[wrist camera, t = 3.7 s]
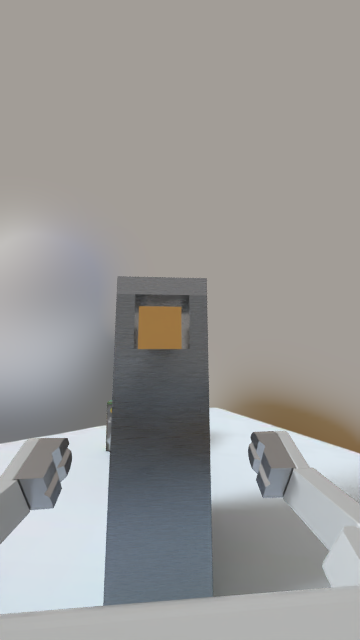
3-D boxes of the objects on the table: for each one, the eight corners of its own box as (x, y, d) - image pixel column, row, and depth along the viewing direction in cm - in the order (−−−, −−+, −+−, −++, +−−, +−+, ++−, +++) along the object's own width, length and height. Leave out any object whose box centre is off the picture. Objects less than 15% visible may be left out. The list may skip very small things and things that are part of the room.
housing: (102, 620, 18) (117, 276, 23) (127, 514, 30) (134, 301, 35) (213, 610, 19) (206, 278, 24) (194, 510, 31) (192, 302, 35)
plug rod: (137, 349, 14) (139, 306, 15) (153, 349, 32) (153, 329, 32) (181, 349, 14) (181, 306, 15) (172, 349, 32) (172, 329, 33)
